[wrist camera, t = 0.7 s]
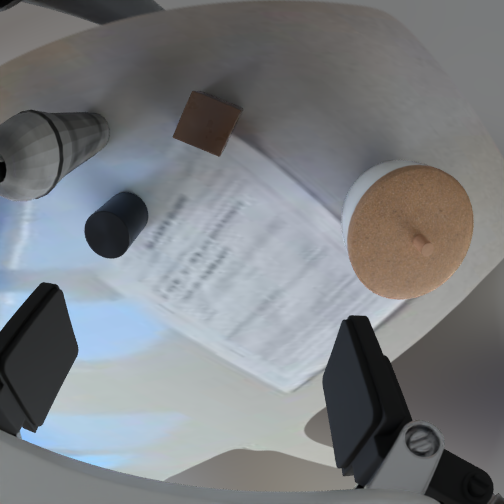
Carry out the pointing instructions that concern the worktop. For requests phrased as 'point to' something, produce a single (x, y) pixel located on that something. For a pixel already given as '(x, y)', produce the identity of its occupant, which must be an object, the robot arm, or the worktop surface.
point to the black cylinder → (116, 225)
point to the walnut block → (207, 122)
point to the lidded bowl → (406, 228)
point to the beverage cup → (46, 150)
